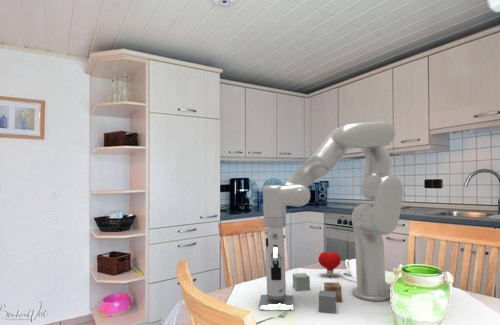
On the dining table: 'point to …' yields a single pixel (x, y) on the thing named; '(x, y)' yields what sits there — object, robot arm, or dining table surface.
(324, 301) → the charcoal block
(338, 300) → the walnut block
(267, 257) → the travel mug
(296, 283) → the sage green block
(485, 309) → the dining table surface
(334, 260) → the red heart figurine
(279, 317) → the dining table surface
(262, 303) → the coaster mat
